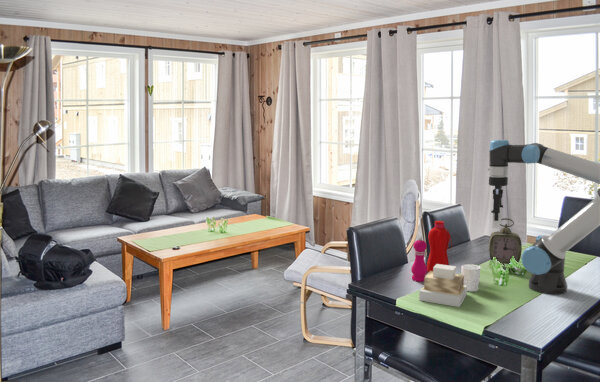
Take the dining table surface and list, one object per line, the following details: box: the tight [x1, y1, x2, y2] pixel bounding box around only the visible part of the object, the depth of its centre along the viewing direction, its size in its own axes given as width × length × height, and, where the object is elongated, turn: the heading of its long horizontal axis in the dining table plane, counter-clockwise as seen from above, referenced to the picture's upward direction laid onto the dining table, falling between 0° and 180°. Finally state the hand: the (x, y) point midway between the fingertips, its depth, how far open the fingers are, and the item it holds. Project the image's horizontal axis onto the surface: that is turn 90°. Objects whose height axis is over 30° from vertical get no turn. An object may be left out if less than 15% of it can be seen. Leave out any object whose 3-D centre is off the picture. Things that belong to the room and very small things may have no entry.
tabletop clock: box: [488, 217, 522, 266], centre depth 257 cm, size 14×9×25 cm, turn 73°
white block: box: [433, 264, 457, 280], centre depth 216 cm, size 8×6×4 cm
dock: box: [418, 285, 468, 308], centre depth 217 cm, size 16×16×4 cm
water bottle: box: [426, 220, 453, 273], centre depth 250 cm, size 9×11×25 cm
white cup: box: [460, 263, 481, 292], centre depth 227 cm, size 8×8×10 cm
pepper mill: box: [410, 236, 428, 283], centre depth 240 cm, size 7×7×20 cm
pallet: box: [423, 271, 464, 294], centre depth 217 cm, size 14×10×5 cm
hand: (496, 225), depth 227 cm, fingers open, 13 cm apart
